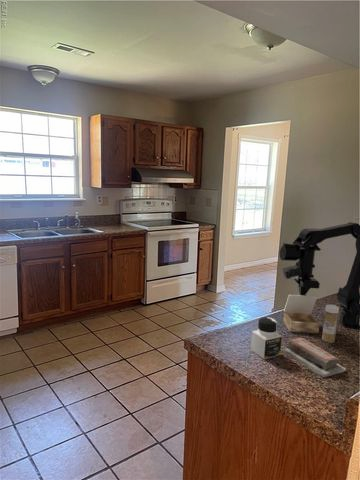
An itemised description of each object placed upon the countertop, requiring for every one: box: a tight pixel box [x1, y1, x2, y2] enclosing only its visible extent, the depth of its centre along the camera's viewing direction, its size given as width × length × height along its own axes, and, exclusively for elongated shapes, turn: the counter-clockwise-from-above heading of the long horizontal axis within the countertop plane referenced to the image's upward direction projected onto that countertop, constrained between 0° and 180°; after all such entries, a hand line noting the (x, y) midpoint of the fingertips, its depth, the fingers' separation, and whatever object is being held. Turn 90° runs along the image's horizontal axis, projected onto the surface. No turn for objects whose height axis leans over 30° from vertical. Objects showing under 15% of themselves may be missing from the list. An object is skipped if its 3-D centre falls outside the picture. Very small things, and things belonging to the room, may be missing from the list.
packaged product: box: [283, 336, 347, 378], centre depth 113 cm, size 18×5×10 cm
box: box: [283, 312, 320, 334], centre depth 139 cm, size 11×10×4 cm
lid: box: [283, 294, 318, 315], centre depth 141 cm, size 11×10×1 cm
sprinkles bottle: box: [321, 304, 340, 344], centre depth 127 cm, size 5×5×13 cm
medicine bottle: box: [250, 316, 283, 360], centre depth 116 cm, size 7×7×12 cm
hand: (301, 298), depth 139 cm, fingers closed
